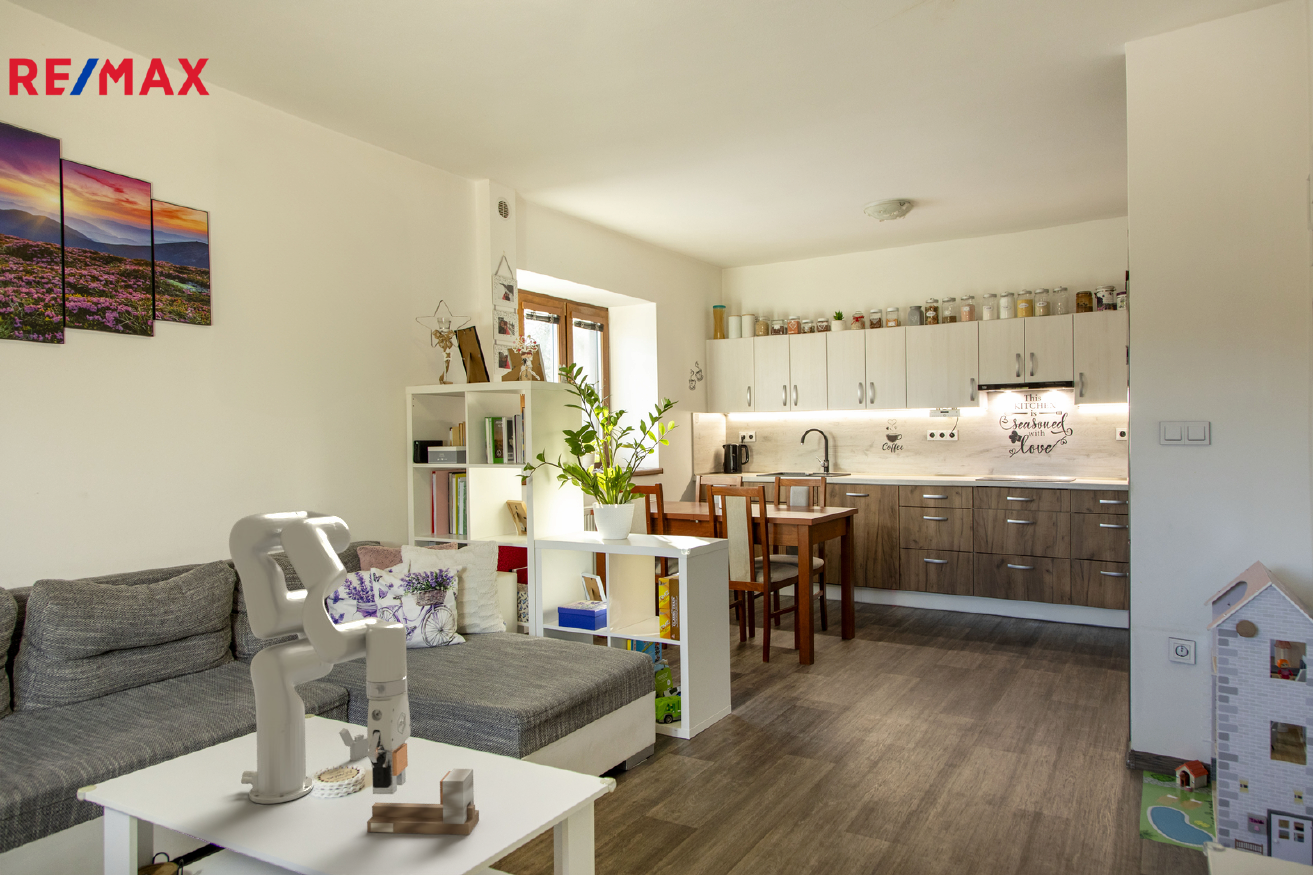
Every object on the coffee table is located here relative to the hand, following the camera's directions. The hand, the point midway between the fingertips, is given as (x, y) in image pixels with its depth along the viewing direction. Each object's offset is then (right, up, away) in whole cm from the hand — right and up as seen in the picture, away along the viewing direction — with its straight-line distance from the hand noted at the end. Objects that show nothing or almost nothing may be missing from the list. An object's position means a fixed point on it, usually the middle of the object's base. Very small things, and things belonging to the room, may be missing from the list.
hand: (389, 779), depth 160 cm
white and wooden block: (0, -2, 0) cm, 2 cm away
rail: (+7, -9, -1) cm, 11 cm away
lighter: (-20, -10, +35) cm, 41 cm away
